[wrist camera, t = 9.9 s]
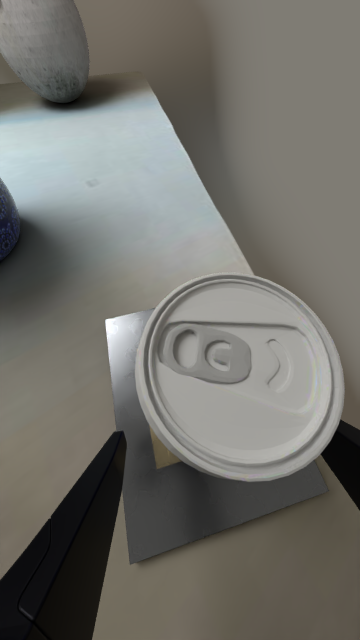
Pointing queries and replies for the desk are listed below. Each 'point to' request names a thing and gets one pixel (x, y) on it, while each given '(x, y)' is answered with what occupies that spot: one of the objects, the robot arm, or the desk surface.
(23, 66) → the moon model
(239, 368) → the beverage can
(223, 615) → the desk surface
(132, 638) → the desk surface
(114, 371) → the plate
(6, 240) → the planter
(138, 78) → the desk surface
